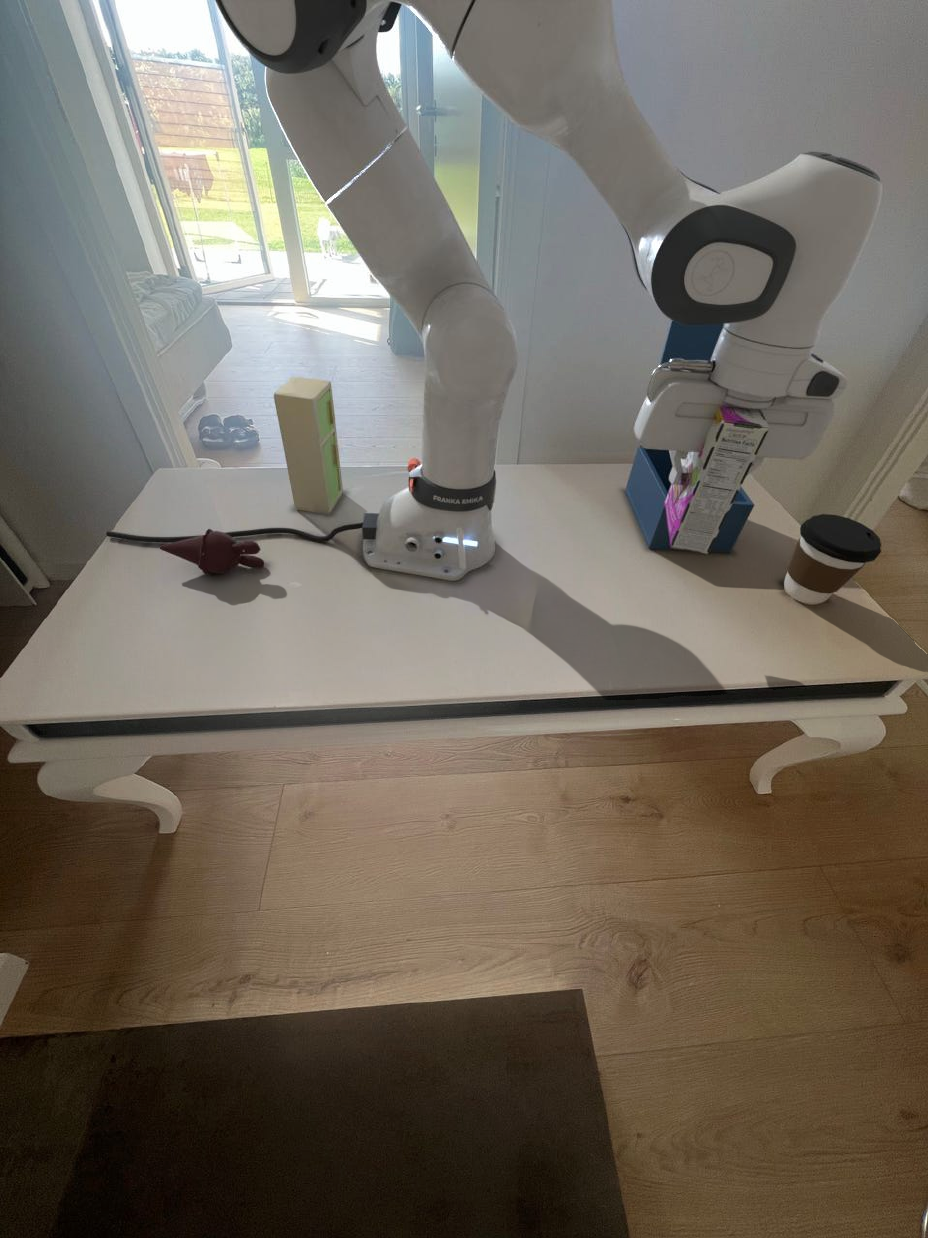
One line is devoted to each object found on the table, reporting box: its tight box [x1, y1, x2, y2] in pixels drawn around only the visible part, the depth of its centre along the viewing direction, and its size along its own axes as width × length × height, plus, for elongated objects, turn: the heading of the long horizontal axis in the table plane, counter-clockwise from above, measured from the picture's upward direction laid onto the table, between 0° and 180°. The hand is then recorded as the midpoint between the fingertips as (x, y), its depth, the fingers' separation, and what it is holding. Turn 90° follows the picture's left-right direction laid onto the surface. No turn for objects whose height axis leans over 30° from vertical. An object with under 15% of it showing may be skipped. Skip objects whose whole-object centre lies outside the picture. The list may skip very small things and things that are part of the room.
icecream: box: [159, 528, 265, 576], centre depth 80 cm, size 7×7×15 cm
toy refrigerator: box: [273, 375, 344, 515], centre depth 90 cm, size 8×7×21 cm
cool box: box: [624, 445, 755, 554], centre depth 96 cm, size 20×15×10 cm
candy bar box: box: [664, 407, 770, 555], centre depth 62 cm, size 11×5×16 cm, turn 169°
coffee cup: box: [783, 513, 882, 606], centre depth 82 cm, size 11×11×12 cm
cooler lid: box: [658, 319, 724, 369], centre depth 95 cm, size 21×15×5 cm
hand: (703, 484), depth 64 cm, fingers closed on candy bar box, 5 cm apart
